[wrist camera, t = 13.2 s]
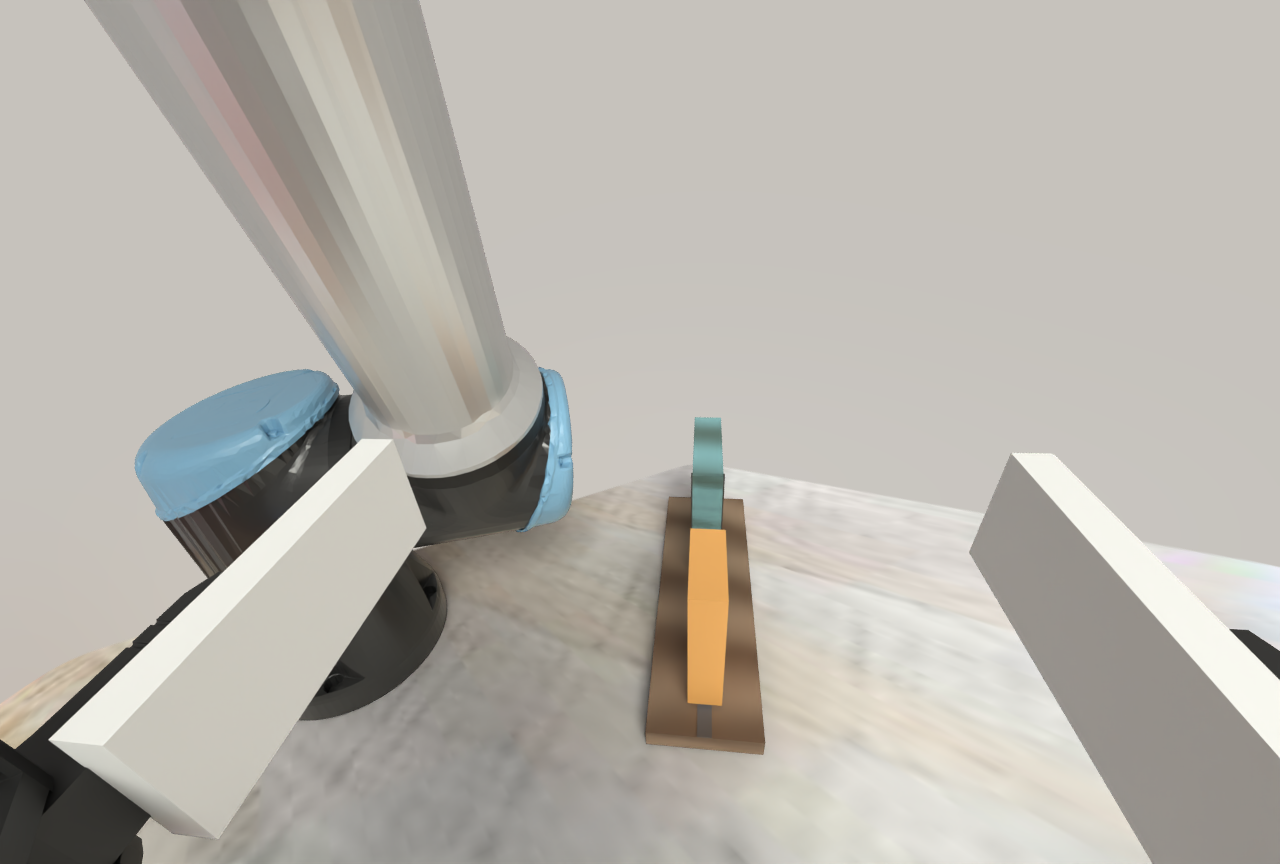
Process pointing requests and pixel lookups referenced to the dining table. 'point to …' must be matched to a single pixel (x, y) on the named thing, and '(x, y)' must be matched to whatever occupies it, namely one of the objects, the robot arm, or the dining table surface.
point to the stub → (707, 615)
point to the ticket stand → (668, 695)
